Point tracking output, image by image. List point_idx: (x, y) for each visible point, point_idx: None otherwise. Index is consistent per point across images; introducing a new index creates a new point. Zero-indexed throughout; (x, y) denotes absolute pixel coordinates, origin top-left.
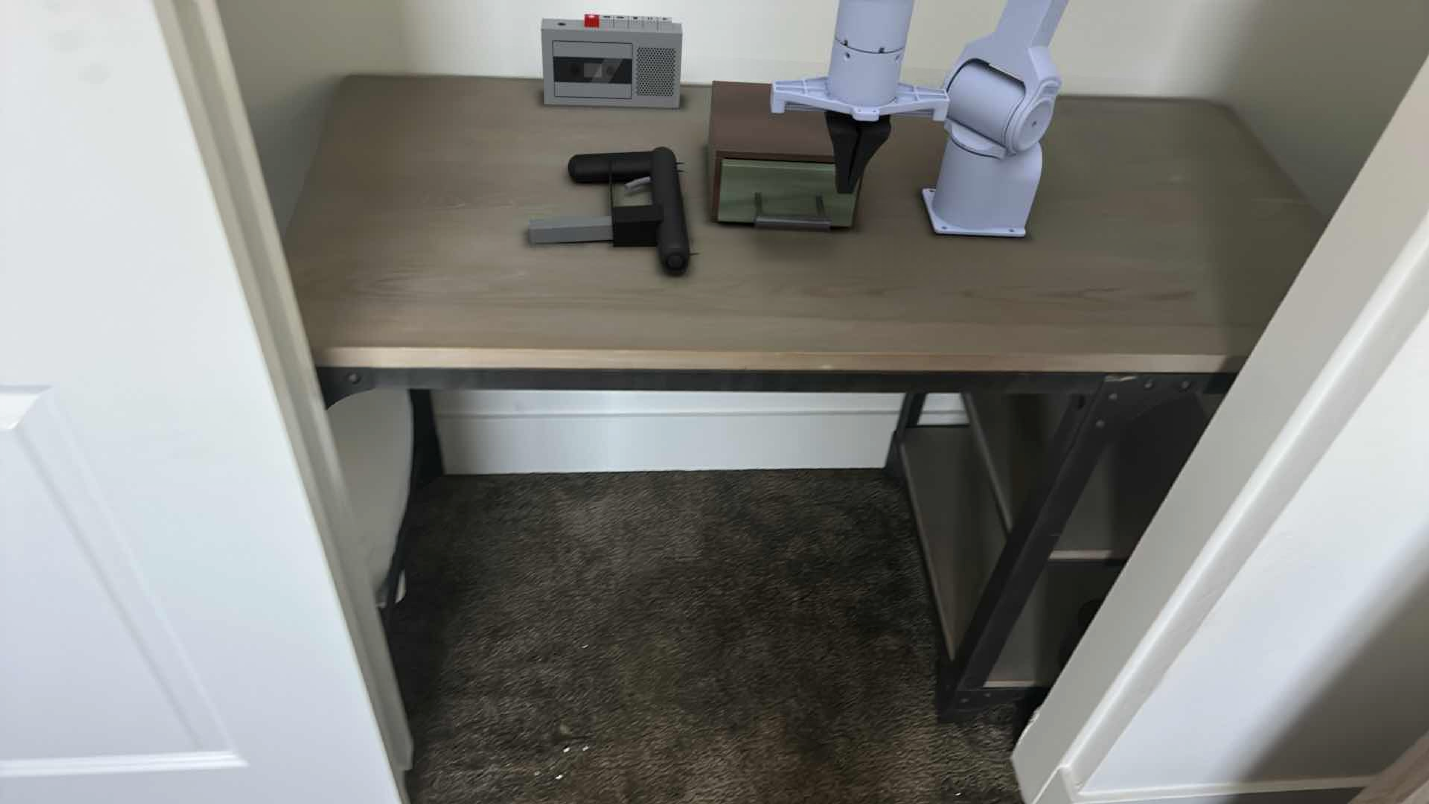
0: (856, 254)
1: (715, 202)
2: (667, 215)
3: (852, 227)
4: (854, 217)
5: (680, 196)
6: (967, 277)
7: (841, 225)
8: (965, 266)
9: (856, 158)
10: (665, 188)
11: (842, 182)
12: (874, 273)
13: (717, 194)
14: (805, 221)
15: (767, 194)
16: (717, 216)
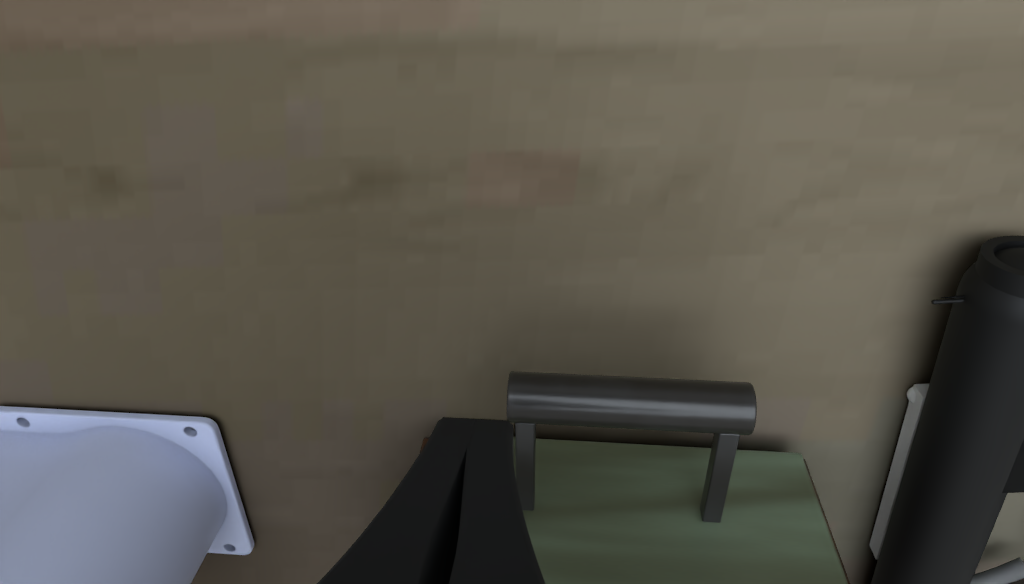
0: (422, 341)
1: None
2: (1013, 445)
3: (427, 438)
4: None
5: (917, 525)
6: (117, 255)
7: None
8: (128, 299)
9: (415, 578)
10: (968, 550)
11: (493, 459)
12: (376, 266)
13: None
14: (589, 399)
15: (681, 517)
16: None
